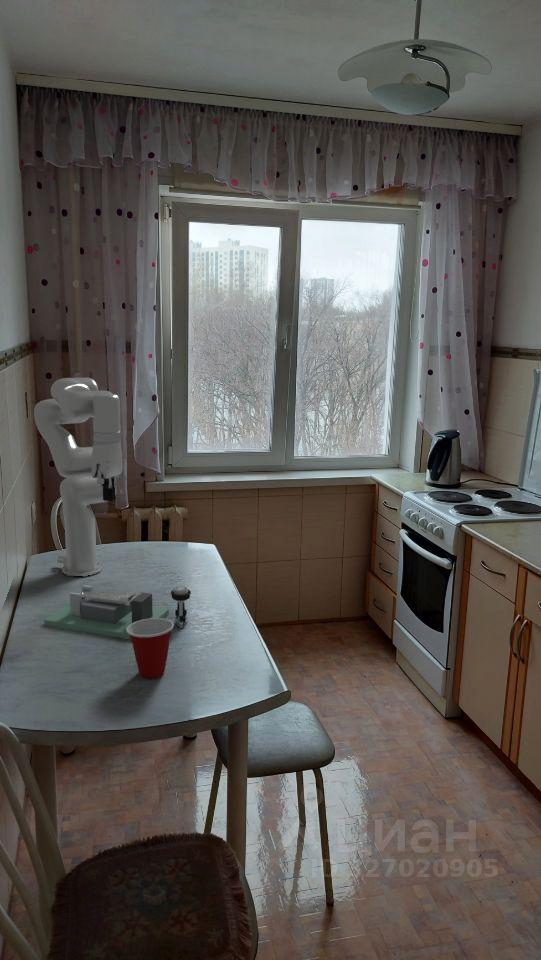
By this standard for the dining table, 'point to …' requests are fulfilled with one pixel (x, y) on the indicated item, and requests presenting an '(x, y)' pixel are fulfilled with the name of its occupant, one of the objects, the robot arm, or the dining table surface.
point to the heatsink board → (94, 625)
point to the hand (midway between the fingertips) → (109, 500)
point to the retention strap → (109, 597)
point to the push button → (180, 604)
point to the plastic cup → (151, 645)
